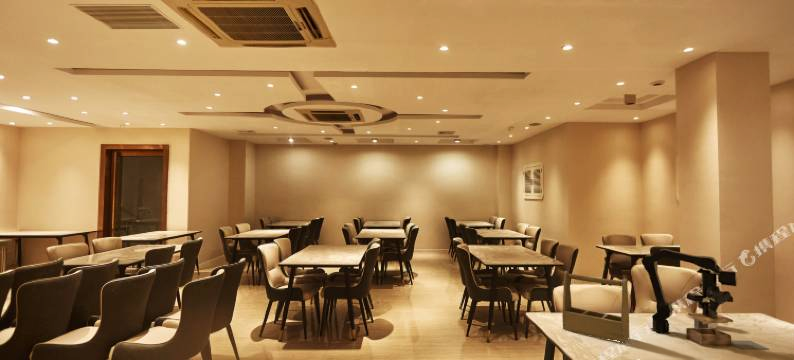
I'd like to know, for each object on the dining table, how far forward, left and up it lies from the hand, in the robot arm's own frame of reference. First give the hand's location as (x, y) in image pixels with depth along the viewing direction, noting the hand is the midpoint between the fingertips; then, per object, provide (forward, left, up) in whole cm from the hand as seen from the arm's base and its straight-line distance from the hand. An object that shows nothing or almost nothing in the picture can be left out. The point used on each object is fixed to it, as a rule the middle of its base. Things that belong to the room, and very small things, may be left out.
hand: (709, 315), depth 194 cm
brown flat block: (-1, 0, -13) cm, 13 cm away
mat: (+14, -3, -13) cm, 19 cm away
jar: (+17, +24, -13) cm, 32 cm away
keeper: (+4, +11, -13) cm, 17 cm away
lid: (0, 0, -2) cm, 2 cm away
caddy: (-51, +10, -13) cm, 53 cm away
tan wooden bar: (+4, +13, -7) cm, 15 cm away
